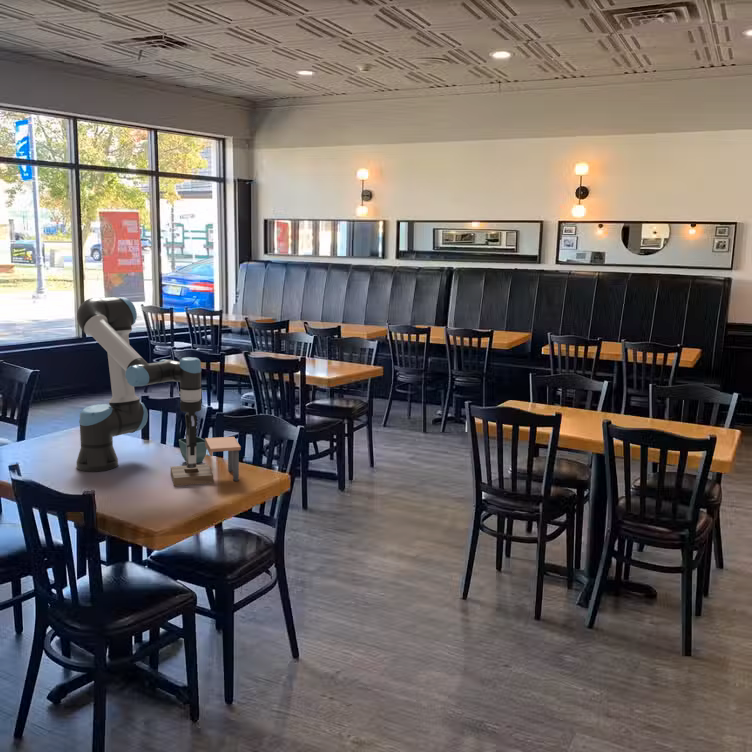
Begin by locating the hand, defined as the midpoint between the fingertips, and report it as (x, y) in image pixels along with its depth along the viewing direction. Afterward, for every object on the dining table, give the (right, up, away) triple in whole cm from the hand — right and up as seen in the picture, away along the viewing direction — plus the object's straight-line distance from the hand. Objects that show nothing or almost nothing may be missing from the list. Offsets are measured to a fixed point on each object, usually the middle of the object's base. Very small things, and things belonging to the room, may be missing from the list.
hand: (191, 461), depth 283 cm
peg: (0, -2, 0) cm, 2 cm away
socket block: (0, -6, +1) cm, 7 cm away
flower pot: (-5, -3, +22) cm, 22 cm away
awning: (+11, -6, +5) cm, 13 cm away
